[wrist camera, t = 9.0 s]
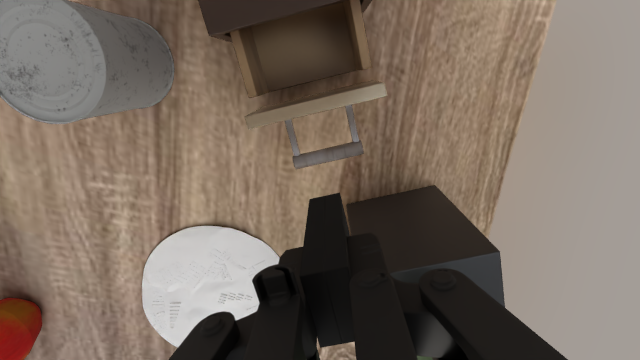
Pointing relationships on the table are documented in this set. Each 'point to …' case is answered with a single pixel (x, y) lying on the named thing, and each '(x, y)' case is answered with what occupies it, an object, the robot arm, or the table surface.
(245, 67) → the drawer
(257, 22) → the cabinet
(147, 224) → the table surface
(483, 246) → the riser
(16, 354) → the apple
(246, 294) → the plaque
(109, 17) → the grey concrete cylinder
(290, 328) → the robot arm
